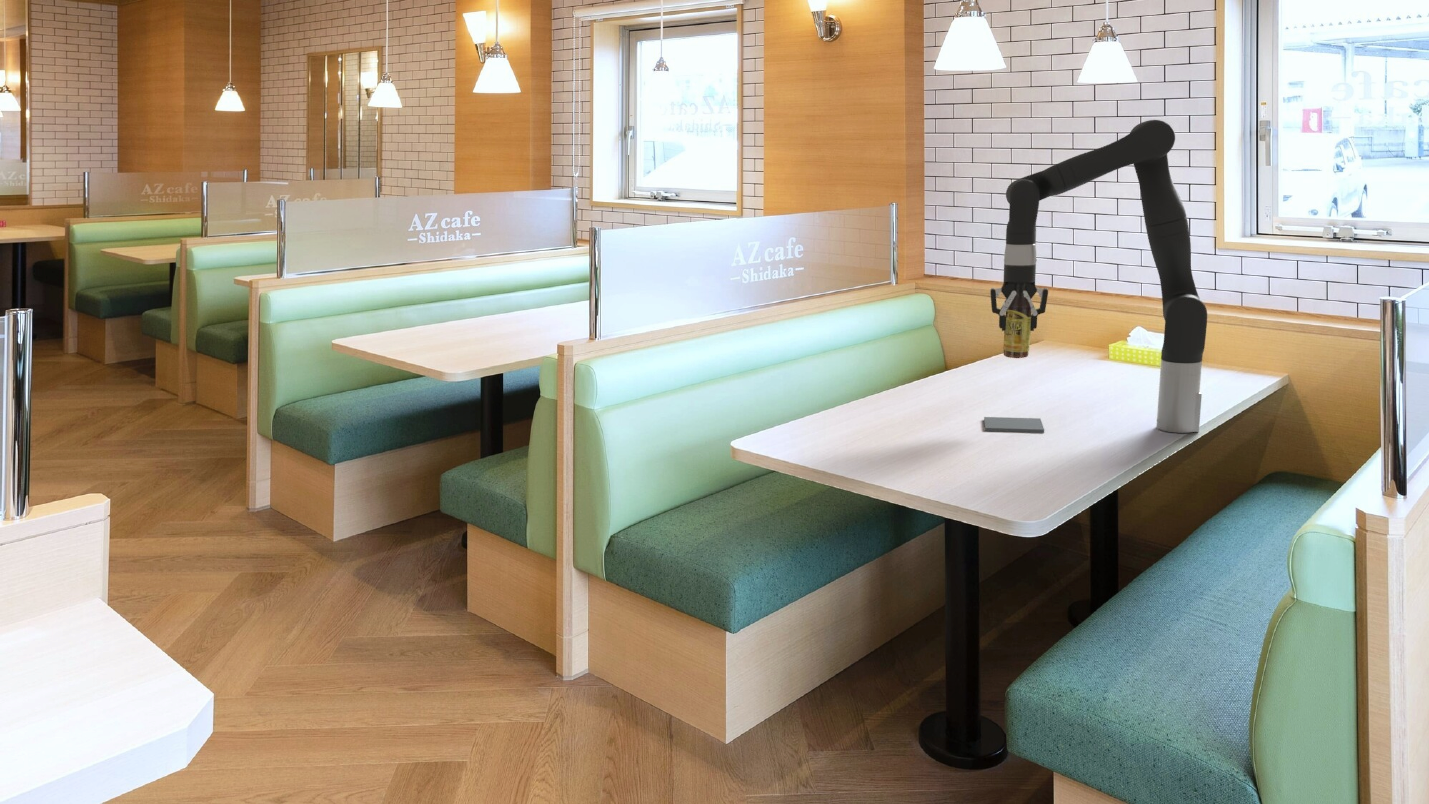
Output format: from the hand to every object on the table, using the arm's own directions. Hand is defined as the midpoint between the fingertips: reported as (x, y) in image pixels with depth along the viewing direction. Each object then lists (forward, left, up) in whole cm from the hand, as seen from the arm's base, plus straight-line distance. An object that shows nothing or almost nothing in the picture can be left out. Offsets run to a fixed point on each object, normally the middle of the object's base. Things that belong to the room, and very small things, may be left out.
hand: (1017, 330), depth 271 cm
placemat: (0, 0, -24) cm, 24 cm away
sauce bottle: (0, 0, -7) cm, 7 cm away
